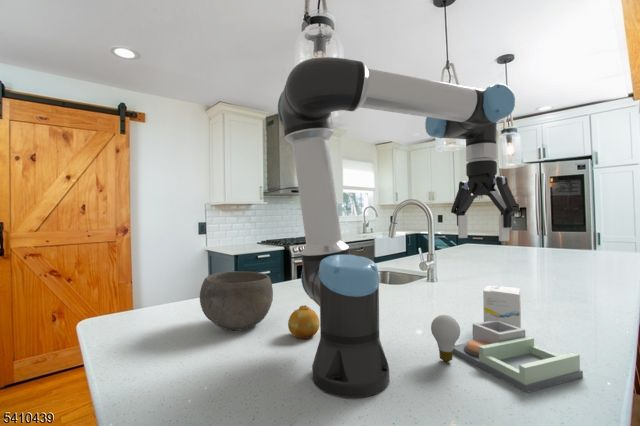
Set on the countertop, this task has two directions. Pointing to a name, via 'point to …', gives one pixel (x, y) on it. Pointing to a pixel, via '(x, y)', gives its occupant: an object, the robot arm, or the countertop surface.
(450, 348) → the light bulb
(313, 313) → the fruit
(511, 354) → the compartment tray
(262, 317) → the bowl
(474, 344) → the checker pad
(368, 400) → the countertop surface
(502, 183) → the robot arm
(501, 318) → the ink box
